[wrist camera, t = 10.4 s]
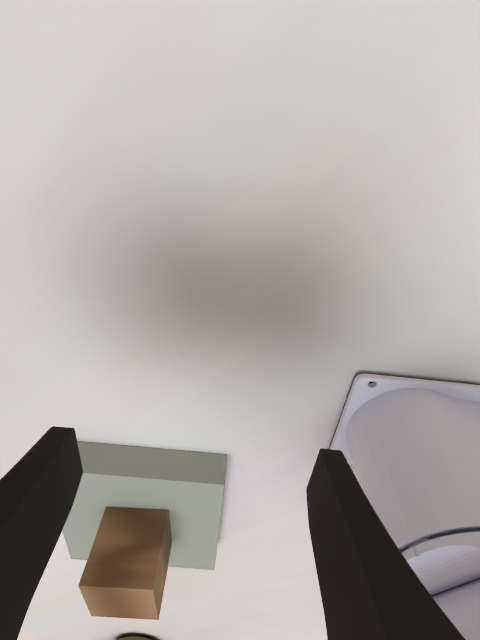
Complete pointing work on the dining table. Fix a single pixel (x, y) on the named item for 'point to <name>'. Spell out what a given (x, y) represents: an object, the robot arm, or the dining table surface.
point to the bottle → (134, 638)
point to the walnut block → (128, 563)
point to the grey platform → (151, 497)
